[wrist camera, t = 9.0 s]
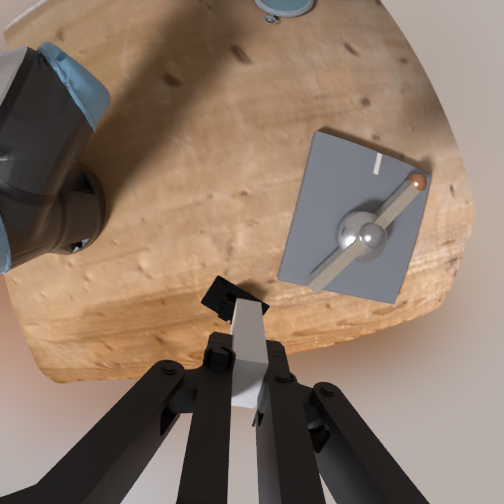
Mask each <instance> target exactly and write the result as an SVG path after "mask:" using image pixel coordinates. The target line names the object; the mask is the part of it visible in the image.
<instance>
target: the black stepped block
mask: <svg viewBox="0 0 504 504" xmlns="http://www.w3.org/2000/svg"><path fill="white" fill-rule="evenodd" d="M237 298H239V299H244V300H250V301H256V302H261V307H262V315H264V314H265V312H266V311H267V310H268V308H269V307H270V306H269V305H267V304H266V303H264V302H262V301H261V300H259V299H257V298H256V297H254V296H252V295H251V294H249V293H247V292H245V291H244V290H242V289H240V288H239V287H237V286H235V285H234V284H232V283H231V282H229V281H227V280H226V279H224V278H222V277H221V276H219V275H218V276H217V277H216V279H215V280H214V282H213V284H212V285H211V287H210V288H209V290H208V291H207V293H206V295H205V296H204V298H203V299H202V301H201V303H202V304H203V305H205V306H206V307H208V308H210V309H211V310H213V311H215V312H216V313H217V314H218V317H219V318H221V319H222V320H224V321H226V322H227V321H228V320H230V321H231V322H230V324H231V325H232V320H233V315H234V310H235V305H236V300H237Z"/></svg>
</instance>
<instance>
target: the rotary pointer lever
mask: <svg viewBox="0 0 504 504" xmlns="http://www.w3.org/2000/svg"><path fill="white" fill-rule="evenodd" d="M426 187H427V179H426V177H425V176H424V175H423V174H410V175H408V176H407V178H406V181H405V182H404V183H403V184H402V186H401V187H400V188H399V189H398V190H397V191H396V192H395V193H394V194H393V195H392V196H391V197H390V198H389V199H388V200H387V201H386V202H385V203H384V204H383V205H382V206H381V207H380V208H379V209H378V210H377V211H376V212H375V213H374V214H372V213H369V212H365V211H360V210H356V211H352V212H349V213H348V214H346V215H345V216H344V217H343V218H342V219H341V220H340V221H339V223H338V225H337V228H336V233H335V238H336V243H337V246H338V247H339V248H338V249H337V250H336V251H335V252H334V253H333V254H332V255H331V256H330V257H329V258H328V259H327V260H326V261H325V262H323V263H322V264H321V265H320V266H319V267H318V268H317V269H316V270H315V271H314V272H313V273H312V274H311V275H309V276H308V277H307V278H306V279H305V280H304V281H305V283H306V285H307V286H308V287H309V288H310V289H311V290H312V291H313V292H314V294H315V295H316V294H317V293H318V292H319V291H320V290H322V289H323V288H324V287H325V286H326V285H327V284H328V283H329V282H330V281H331V280H332V279H334V278H335V277H336V276H337V275H338V274H339V273H340V272H341V271H342V270H343V269H344V268H345V267H346V266H347V265H348V264H350V263H351V262H352V261H355V262H358V263H367V262H371V261H373V260H375V259H376V258H377V257H379V256H380V254H381V253H382V252H383V250H384V248H385V246H386V243H387V230H386V227H387V226H388V225H389V224H390V223H391V222H392V221H393V220H394V219H395V218H396V217H397V216H398V215H399V214H400V213H401V212H402V211H403V209H404V208H405V207H406V206H407V205H408V204H409V203H410V202H411V201H412V200H413V199H414V198H415V197H416V196H417V194H418V193H419V192H420V191H423V190H425V189H426Z"/></svg>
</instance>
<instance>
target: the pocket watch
mask: <svg viewBox="0 0 504 504" xmlns="http://www.w3.org/2000/svg"><path fill="white" fill-rule="evenodd" d="M254 1H255V3H256V4H257V6H258V7H259V8H261V9H262V10H263V11H265V12H267V13H269V14H271V15H268V16H265V17H266V18H267V20H268V21H269V22H272V21H275V20H276V18H275V17H274V16H278V17H296V16H299V15H302V14H304V13H306V12H307V11H309V10H310V9H311V7H312V6H313V3H314V0H254ZM265 17H263V18H262V20H263V21H264V18H265ZM264 22H265V21H264ZM265 23H268V22H265ZM276 23H277V20H276ZM276 23H268V24H276Z"/></svg>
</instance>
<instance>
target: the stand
mask: <svg viewBox="0 0 504 504" xmlns="http://www.w3.org/2000/svg"><path fill="white" fill-rule="evenodd" d="M410 174H423V175H424V176H425V177H426V179H427V187H426V189H425V190H423V191H420V192H419V193H418V194H417V196H416V197H415V198H414V199H413V200H412V201H411V202H410V203H409V204H408V205H407V206H406V207H405V208H404V209H403V211H402V212H401V213H400V214H399V215H398V216H397V217H396V218H395V219H394V220H393V221H392V222H391V223H390V224H389V225H388V226H387V227H386V230H387V243H386V246H385V248H384V250H383V252H382V253H381V254H380V256H379V257H377V258H376V259H375V260H373V261H371V262H367V263H358V262H355V261H352V262H351V263H350V264H348V265H347V266H346V267H345V268H344V269H343V270H342V271H341V272H340V273H339V274H338V275H337V276H336V277H335V278H334V279H332V280H331V281H330V282H329V283H328V284H327V285H326V286H325V287H324V288H323V289H322V290H326V291H331V292H335V293H340V294H345V295H350V296H355V297H359V298H364V299H369V300H374V301H379V302H384V303H389V304H394V303H395V301H396V298H397V295H398V293H399V290H400V287H401V284H402V281H403V278H404V276H405V273H406V270H407V267H408V263H409V260H410V257H411V254H412V251H413V247H414V244H415V241H416V237H417V234H418V230H419V226H420V222H421V219H422V215H423V211H424V207H425V202H426V198H427V194H428V189H429V184H430V180H431V175H432V174H430V173H427V172H425V171H423V170H421V169H419V168H416V167H414V166H412V165H409V164H407V163H405V162H402V161H400V160H398V159H395V158H393V157H390V156H388V155H385V154H383V153H380V152H377V151H375V150H372V149H369V148H367V147H364V146H361V145H358V144H356V143H353V142H350V141H347V140H344V139H341V138H338V137H335V136H332V135H329V134H325V133H322V132H319V131H316V132H314V133H313V138H312V142H311V146H310V150H309V154H308V159H307V163H306V167H305V171H304V175H303V179H302V183H301V187H300V191H299V195H298V199H297V203H296V207H295V211H294V215H293V219H292V222H291V226H290V230H289V234H288V238H287V241H286V245H285V249H284V253H283V256H282V260H281V264H280V267H279V271H278V275H277V277H278V280H280V281H284V282H289V283H293V284H298V285H303V286H307V285H306V283H305V281H304V280H305V279H306V278H307V277H308V276H309V275H311V274H312V273H313V272H314V271H315V270H316V269H317V268H318V267H319V266H320V265H321V264H322V263H323V262H325V261H326V260H327V259H328V258H329V257H330V256H331V255H332V254H333V253H334V252H335V251H336V250H337V249H338V248H339V247H338V246H337V243H336V238H335V233H336V228H337V225H338V223H339V221H340V220H341V219H342V218H343V217H344V216H345V215H346V214H348V213H349V212H352V211H356V210H360V211H365V212H369V213H372V214H374V213H375V212H376V211H377V210H378V209H379V208H380V207H381V206H382V205H383V204H384V203H385V202H386V201H387V200H388V199H389V198H390V197H391V196H392V195H393V194H394V193H395V192H396V191H397V190H398V189H399V188H400V187H401V186H402V184H403V183H404V182H405V181H406V178H407V176H408V175H410ZM307 287H308V286H307Z"/></svg>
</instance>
